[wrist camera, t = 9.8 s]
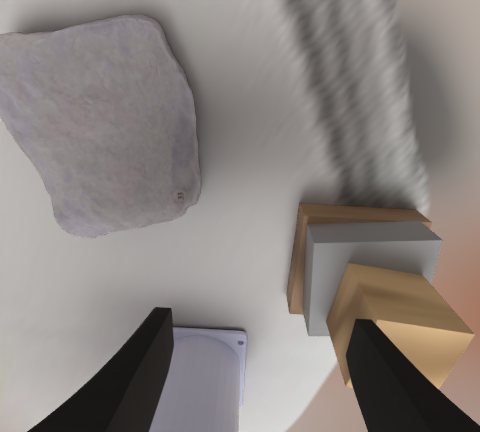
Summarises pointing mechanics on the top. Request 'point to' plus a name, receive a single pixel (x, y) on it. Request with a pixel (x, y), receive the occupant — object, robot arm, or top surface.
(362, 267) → the oak cube
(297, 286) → the bottom slab
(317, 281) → the top slab
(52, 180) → the stone block
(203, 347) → the robot arm
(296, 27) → the top surface
